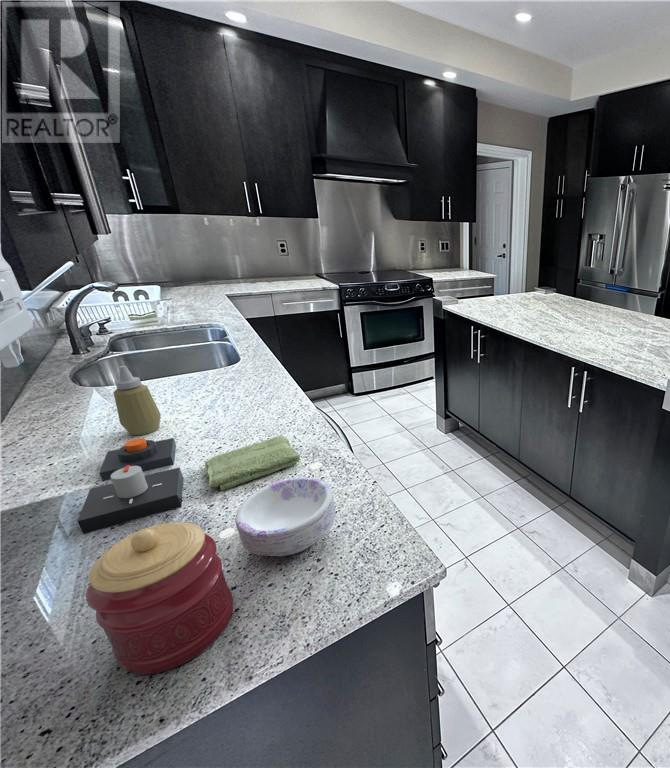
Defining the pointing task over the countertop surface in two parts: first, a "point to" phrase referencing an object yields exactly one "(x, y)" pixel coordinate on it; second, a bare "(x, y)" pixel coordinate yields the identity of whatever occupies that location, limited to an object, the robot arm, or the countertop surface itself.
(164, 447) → the button block
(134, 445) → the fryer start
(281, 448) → the washcloth
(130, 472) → the timer dial
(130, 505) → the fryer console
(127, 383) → the squeeze bottle
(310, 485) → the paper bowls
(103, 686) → the countertop surface
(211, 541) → the kitchen canister
